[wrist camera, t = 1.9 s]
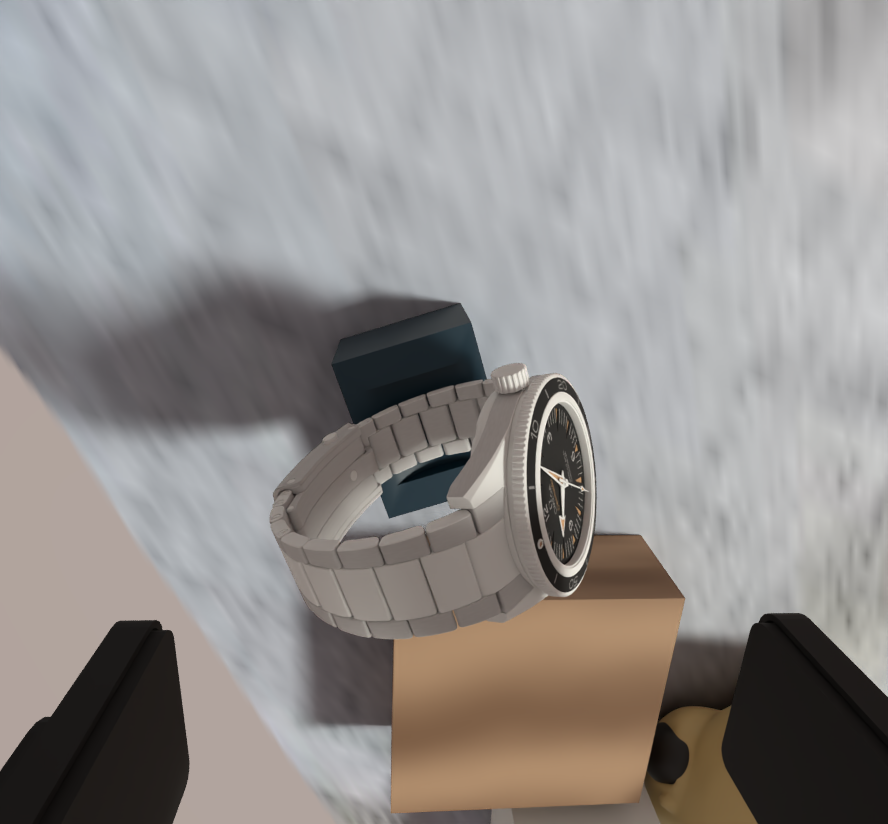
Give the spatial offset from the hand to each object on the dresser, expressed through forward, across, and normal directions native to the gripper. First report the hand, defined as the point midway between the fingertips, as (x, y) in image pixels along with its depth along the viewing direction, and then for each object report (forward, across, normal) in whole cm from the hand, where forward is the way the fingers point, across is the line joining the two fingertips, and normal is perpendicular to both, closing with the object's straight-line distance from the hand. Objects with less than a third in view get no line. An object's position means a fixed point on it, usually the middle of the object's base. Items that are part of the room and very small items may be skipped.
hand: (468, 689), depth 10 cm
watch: (+13, 0, -1) cm, 13 cm away
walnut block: (+13, -4, +10) cm, 17 cm away
